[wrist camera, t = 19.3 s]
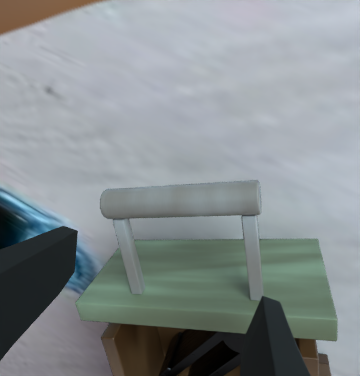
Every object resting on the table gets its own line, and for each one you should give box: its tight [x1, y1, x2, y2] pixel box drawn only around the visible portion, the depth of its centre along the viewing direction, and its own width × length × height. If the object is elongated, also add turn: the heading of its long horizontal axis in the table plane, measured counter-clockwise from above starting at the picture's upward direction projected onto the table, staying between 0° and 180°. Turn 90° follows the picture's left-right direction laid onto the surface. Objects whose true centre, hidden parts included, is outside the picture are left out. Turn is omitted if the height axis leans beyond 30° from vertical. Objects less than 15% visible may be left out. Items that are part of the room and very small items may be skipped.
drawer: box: [75, 180, 337, 376], centre depth 19 cm, size 20×12×6 cm, turn 10°
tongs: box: [159, 329, 245, 376], centre depth 20 cm, size 8×3×3 cm, turn 145°
